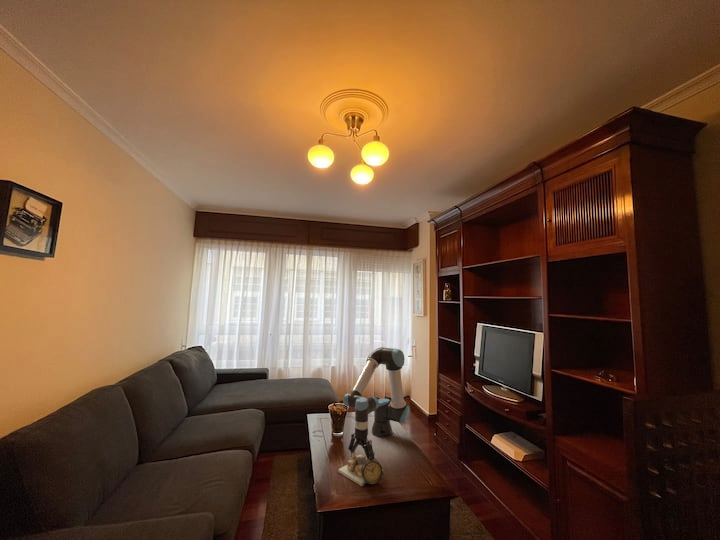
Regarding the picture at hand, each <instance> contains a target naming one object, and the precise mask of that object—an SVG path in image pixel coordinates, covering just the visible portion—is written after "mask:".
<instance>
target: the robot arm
mask: <svg viewBox="0 0 720 540" xmlns="http://www.w3.org/2000/svg"><path fill="white" fill-rule="evenodd" d="M405 361H406V358H405V354H404V352H403V351H402V350H401V349H399V348H392V347H391V348H389V347H382V346H381V347H378V348H376V349H374V350H373V351H372V352H371V353H370V354H369V355H368V357H367V358H366V363H365V365H364V366H363V369H362V371H361V373H360V375H359V376H358V378H357V379H356V382H355V383H354V385H353V388H352V389H351V390H350V392H347V393H345V394H344V395H343V399H342V401H343V405H344V406H346V407H347V408H348V407H349V408H353V409H355V410H354V411H355V412H354V413H355V414H354V416H355V418H354V432H353V433H352V434H351V437H350V442H349V445H348V449H347V450H348V451H349V452H350V458H351V459H352V458H354V457H356V456H357V454H356V453H357V452H356V449H357V448H358V446H361V448H362V449H363V450H364V454H365V456H366V460H367V459H370V457H371V456H372V458H374V459H376V458H375V455H374V453H375V452H374V449H373V442H372V440H371V439H370V440H369V439H368V435H369V414H371V413H372V412H373V413H374V415H373V418H374V420H373V423H372V427H371V433H372V435H373V436H376V437H379V438H380V437H381V438H386V437H389V436H390V437H391V436H392V434H393V429H392V424H391V421H392V422H396V423H399V424H406V423H407V422H408V420H409V418H410V413H411V409H410V408H411V407H410V406H409V405H407V402H406V400H404V391H403V382H402V373H401V371H402V368H403V366H405ZM380 365H384V366H385V370H387V371H388V379H389V380H388V381H389V388H390V397H391V400H390V399H389V398H379V399H378V398H377V397H375V396H369V397H367V396H363V395H364V392H365V391H366V389H367V387H368V385H369V383H370V381H371V379H372V377H373V375H374V373H375V371H376V369H378V368H379V366H380ZM371 451H373V452H371ZM369 452H370V454H369ZM369 456H370V457H369ZM373 456H374V457H373Z"/></svg>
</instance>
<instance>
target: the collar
mask: <svg viewBox="0 0 720 540" xmlns="http://www.w3.org/2000/svg"><path fill="white" fill-rule="evenodd" d="M360 456H362V457H364V462H365V461H366V460H367V457H366V455H364V454H361V453H360V454H358V455H357V454H356V457H354V458H351V459H348V460H347V462H346V463H347V464H346V465H347V469H349V470H350V471H352V472H353V471H355V467H356V474H357V475H359V476H361V477H362V474H361V468H362V465H363V464H362V465H361V464H358V457H360Z"/></svg>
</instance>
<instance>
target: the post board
mask: <svg viewBox="0 0 720 540" xmlns="http://www.w3.org/2000/svg"><path fill="white" fill-rule="evenodd" d="M363 463H364V457H362V456H360V457H358V464H361V465H362V464H363ZM382 470H383V471H384V469H383V468H382ZM337 472H338V474H341V475H342V476H344V477H345V478H347V479H348V480H350V481H352V482H354V483H355V484H357V485H359V486H360V487H363V486H364V484H365V480H364V479H363V476H362V477H361V476H359V475H357V474H356V467H355V471H353V472H352V471H350V470H349V469H347V464H346V465H344V466H342V467H340V468H338V471H337ZM365 485H366V484H365Z"/></svg>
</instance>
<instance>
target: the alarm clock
mask: <svg viewBox="0 0 720 540" xmlns="http://www.w3.org/2000/svg"><path fill="white" fill-rule="evenodd" d="M371 452H373V453H374V456H373V457H374V458H375V452H374V450H373V451H371ZM369 454H370V452H369ZM369 457H370V456H369ZM374 458H372V456H371V457H370V459H367V458H366V461H365V462H364V463H363V465H362V468H361V474H362V476H363V479H364V480H365V484H364V485H363V486H366V484H368V485H375V484H377V483H379V484H381V482H380V481H381V479H382V476H383V473H384V469H383V467H382V465H381V463H380V462H379V460H378V459H376V458H375V459H374ZM382 469H383V470H382Z"/></svg>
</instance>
